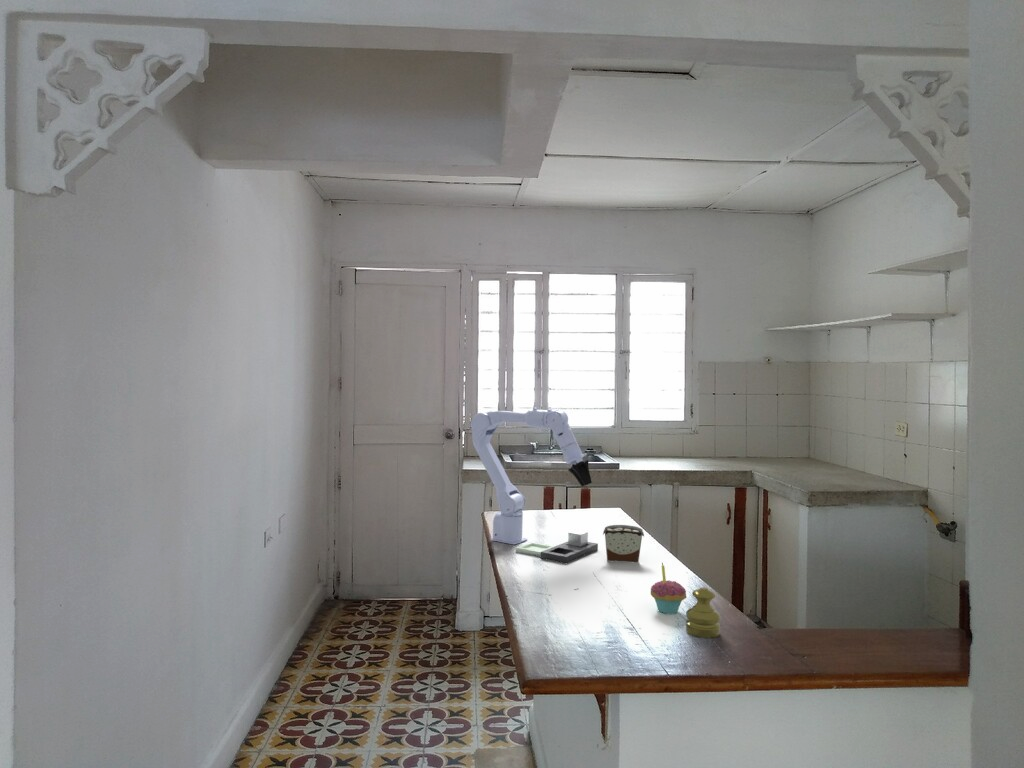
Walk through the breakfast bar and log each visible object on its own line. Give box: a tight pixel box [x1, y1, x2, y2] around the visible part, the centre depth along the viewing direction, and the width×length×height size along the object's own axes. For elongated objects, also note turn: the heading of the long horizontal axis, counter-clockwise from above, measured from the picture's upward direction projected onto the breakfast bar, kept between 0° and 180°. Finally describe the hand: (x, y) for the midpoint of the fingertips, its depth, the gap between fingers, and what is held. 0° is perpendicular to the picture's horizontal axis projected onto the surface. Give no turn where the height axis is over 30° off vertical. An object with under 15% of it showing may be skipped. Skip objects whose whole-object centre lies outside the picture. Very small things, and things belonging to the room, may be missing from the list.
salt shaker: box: [685, 586, 722, 639], centre depth 163 cm, size 7×7×10 cm
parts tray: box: [515, 541, 556, 557], centre depth 230 cm, size 9×9×1 cm
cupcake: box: [650, 562, 687, 615], centre depth 178 cm, size 9×8×12 cm
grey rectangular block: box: [567, 529, 589, 548], centre depth 232 cm, size 4×4×6 cm
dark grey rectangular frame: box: [540, 541, 599, 564], centre depth 228 cm, size 9×20×2 cm, turn 146°
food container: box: [602, 524, 645, 564], centre depth 223 cm, size 12×6×10 cm, turn 84°
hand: (586, 484), depth 232 cm, fingers open, 7 cm apart
